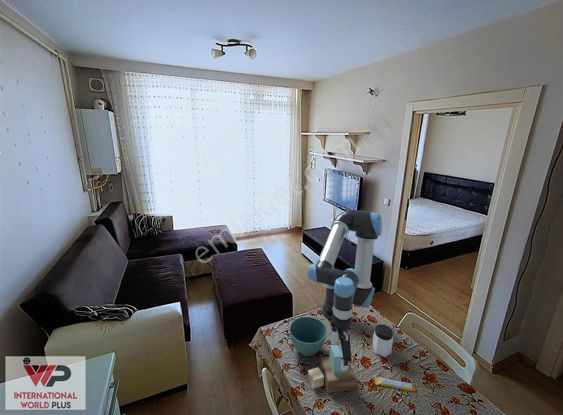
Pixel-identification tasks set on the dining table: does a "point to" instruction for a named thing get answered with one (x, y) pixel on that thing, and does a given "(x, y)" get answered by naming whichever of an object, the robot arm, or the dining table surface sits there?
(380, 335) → the jar
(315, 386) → the cream cube
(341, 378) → the walnut block
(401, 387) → the candy bar
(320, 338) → the plant pot
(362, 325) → the dining table surface
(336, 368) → the teal block
